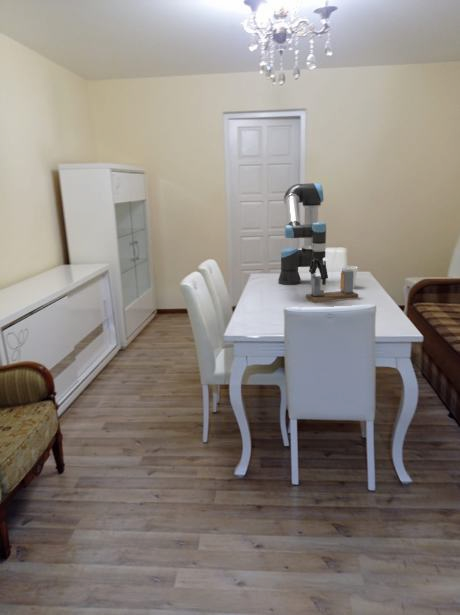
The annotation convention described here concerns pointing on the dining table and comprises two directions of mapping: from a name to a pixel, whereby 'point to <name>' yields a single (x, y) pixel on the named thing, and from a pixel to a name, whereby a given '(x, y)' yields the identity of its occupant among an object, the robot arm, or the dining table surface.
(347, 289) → the mounted finger
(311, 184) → the robot arm
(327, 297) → the rail
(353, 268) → the foam cup
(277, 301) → the dining table surface
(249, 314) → the dining table surface
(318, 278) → the gray and orange block
